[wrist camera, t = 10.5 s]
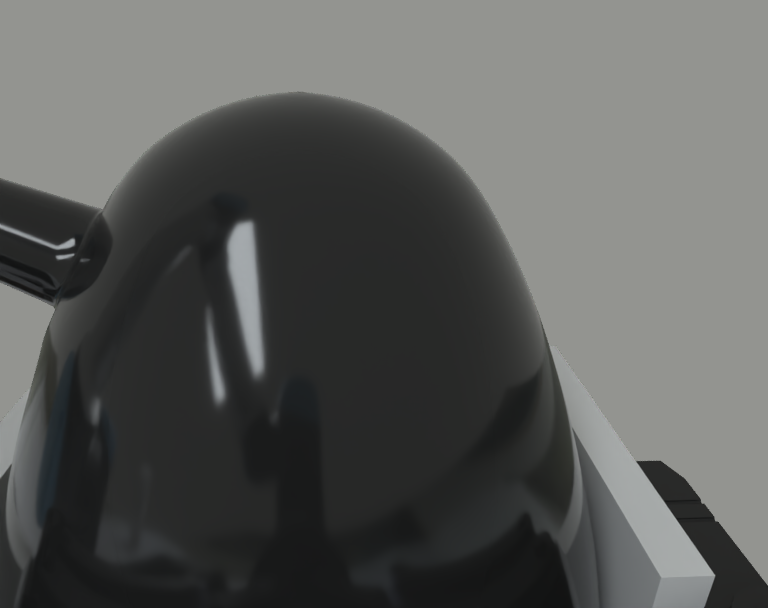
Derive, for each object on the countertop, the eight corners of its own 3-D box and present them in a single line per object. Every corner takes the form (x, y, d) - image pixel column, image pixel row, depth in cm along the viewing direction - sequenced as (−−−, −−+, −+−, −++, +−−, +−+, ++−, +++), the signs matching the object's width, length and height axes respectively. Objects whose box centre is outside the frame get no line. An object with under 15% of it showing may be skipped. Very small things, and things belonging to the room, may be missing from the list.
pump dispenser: (150, 615, 18) (47, 61, 12) (499, 611, 18) (578, 76, 12) (-81, 1251, 8) (-1241, 171, 2) (642, 1212, 9) (1323, 217, 3)
